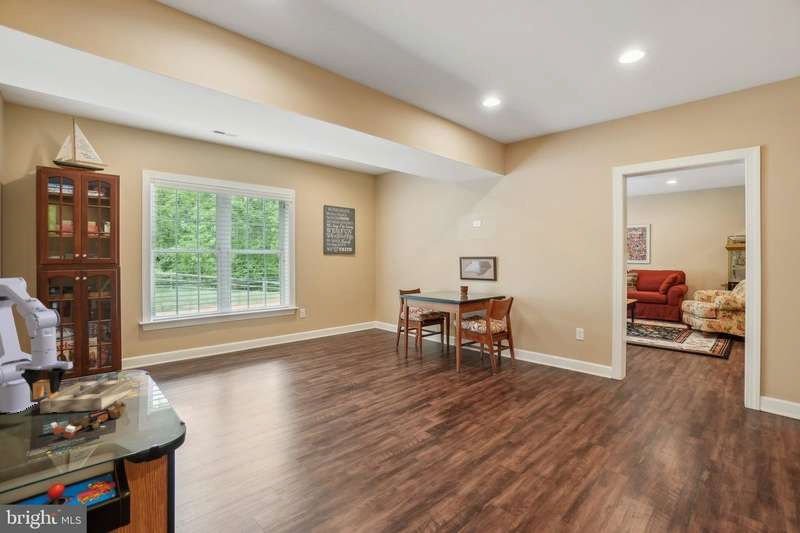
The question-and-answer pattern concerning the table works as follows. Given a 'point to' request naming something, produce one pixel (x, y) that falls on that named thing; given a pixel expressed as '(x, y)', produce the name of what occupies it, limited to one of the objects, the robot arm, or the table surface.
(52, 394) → the bracket
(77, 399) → the rectangular frame
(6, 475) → the table surface
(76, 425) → the character figurine
